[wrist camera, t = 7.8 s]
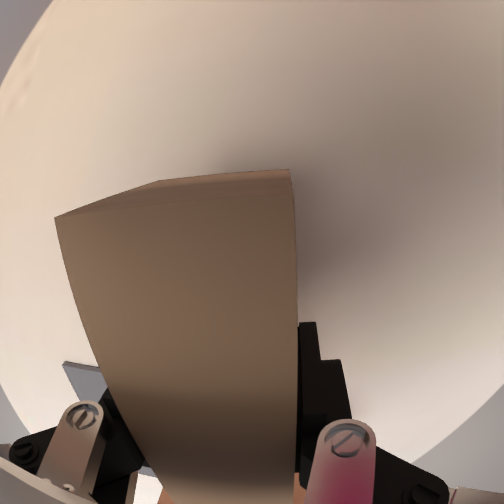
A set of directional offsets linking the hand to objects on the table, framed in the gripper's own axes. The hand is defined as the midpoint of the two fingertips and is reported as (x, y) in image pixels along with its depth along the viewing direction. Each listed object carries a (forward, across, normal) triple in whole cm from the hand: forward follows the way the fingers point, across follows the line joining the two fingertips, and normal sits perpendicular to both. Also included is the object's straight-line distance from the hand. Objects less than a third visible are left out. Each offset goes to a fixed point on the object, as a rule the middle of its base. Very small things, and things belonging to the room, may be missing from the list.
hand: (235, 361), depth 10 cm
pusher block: (+1, 0, 0) cm, 1 cm away
